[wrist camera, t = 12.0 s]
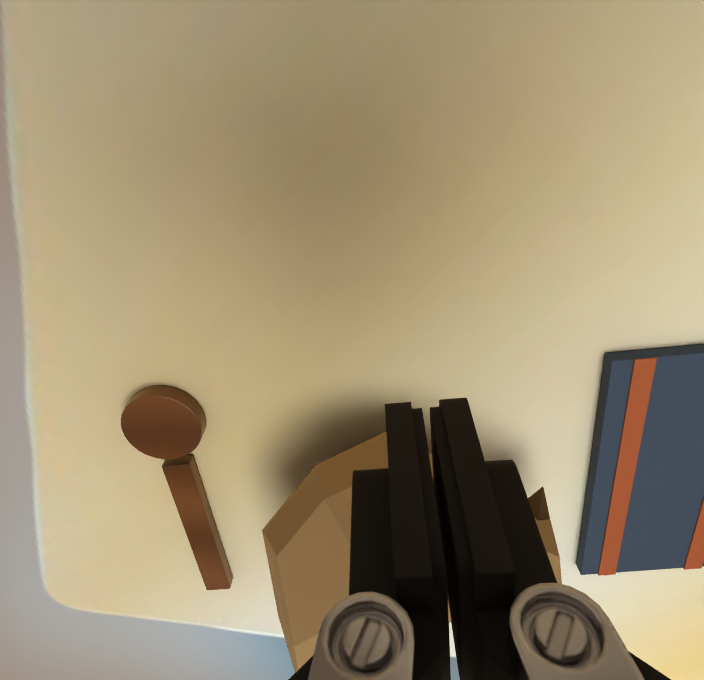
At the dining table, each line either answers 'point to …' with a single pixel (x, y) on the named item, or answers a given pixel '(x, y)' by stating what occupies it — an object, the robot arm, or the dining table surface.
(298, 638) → the low-poly potato
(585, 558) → the tea towel
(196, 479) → the wooden spoon
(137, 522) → the dining table surface
